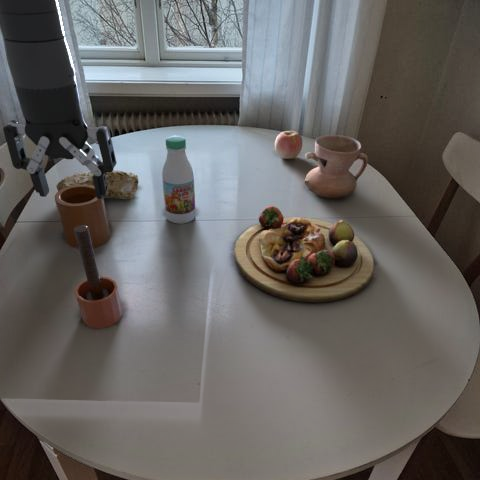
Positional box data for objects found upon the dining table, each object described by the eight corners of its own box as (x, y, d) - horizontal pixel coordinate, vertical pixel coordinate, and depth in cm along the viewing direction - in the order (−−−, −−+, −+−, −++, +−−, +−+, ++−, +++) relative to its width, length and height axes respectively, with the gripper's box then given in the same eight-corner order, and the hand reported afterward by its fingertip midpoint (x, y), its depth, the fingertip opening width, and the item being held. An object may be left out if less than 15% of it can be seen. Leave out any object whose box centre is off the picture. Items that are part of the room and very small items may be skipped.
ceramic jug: (304, 203, 119) (312, 153, 110) (296, 180, 130) (302, 132, 120) (367, 203, 121) (380, 153, 111) (354, 180, 131) (365, 133, 121)
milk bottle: (159, 216, 112) (151, 138, 98) (182, 206, 116) (177, 130, 102) (178, 227, 108) (172, 148, 94) (201, 217, 112) (199, 139, 98)
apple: (304, 161, 140) (307, 136, 135) (278, 163, 139) (280, 138, 133) (294, 151, 147) (297, 126, 141) (270, 152, 145) (272, 128, 139)
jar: (60, 248, 100) (48, 205, 92) (73, 225, 107) (62, 183, 100) (105, 249, 100) (95, 206, 92) (114, 226, 107) (106, 185, 100)
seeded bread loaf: (139, 190, 124) (68, 174, 121) (140, 168, 118) (65, 150, 115) (129, 221, 116) (53, 204, 113) (130, 198, 110) (49, 179, 107)
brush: (89, 321, 81) (64, 234, 68) (94, 307, 84) (72, 221, 71) (110, 321, 81) (90, 235, 68) (115, 308, 84) (96, 222, 71)
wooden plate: (216, 234, 106) (216, 204, 101) (330, 216, 115) (336, 187, 109) (263, 319, 84) (266, 286, 79) (400, 289, 93) (412, 257, 87)
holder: (78, 330, 80) (69, 301, 76) (89, 303, 86) (81, 275, 81) (118, 331, 81) (112, 302, 76) (126, 304, 86) (120, 276, 81)
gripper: (-26, 84, 52) (17, 205, 63) (93, 89, 52) (114, 209, 63) (0, 68, 57) (35, 182, 68) (107, 72, 58) (124, 186, 69)
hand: (73, 195), depth 66 cm, fingers open, 8 cm apart
